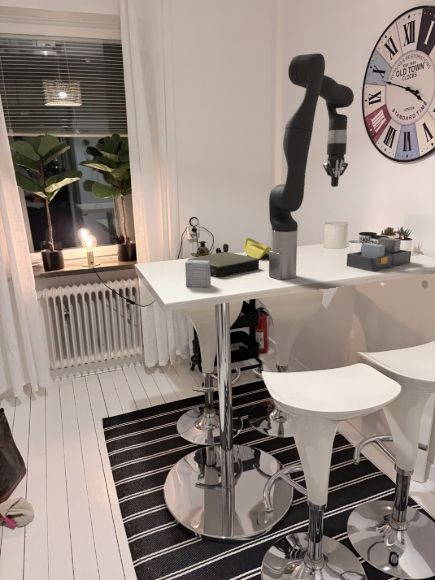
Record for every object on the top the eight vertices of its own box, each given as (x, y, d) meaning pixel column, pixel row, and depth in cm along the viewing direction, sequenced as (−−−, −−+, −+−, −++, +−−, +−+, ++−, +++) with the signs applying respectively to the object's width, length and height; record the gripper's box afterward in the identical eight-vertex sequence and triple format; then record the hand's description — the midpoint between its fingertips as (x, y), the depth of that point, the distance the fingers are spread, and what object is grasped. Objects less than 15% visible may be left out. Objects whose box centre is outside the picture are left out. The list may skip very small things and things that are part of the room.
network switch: (263, 269, 172) (263, 256, 171) (225, 280, 156) (225, 267, 154) (220, 261, 188) (220, 250, 186) (182, 271, 171) (181, 259, 170)
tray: (373, 271, 162) (375, 245, 160) (346, 265, 173) (348, 241, 170) (410, 263, 175) (413, 239, 172) (383, 258, 185) (385, 235, 182)
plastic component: (282, 252, 190) (265, 245, 185) (275, 267, 191) (258, 260, 186) (260, 243, 207) (244, 235, 202) (254, 257, 208) (237, 250, 203)
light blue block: (377, 266, 166) (379, 246, 163) (360, 263, 172) (362, 243, 170) (383, 265, 168) (384, 245, 165) (366, 262, 174) (367, 242, 172)
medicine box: (211, 284, 149) (210, 260, 147) (208, 288, 145) (207, 263, 142) (189, 283, 151) (188, 259, 148) (185, 287, 146) (184, 262, 144)
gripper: (332, 141, 165) (330, 187, 170) (355, 142, 172) (352, 186, 177) (318, 142, 171) (316, 187, 176) (340, 143, 178) (338, 185, 183)
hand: (334, 186), depth 176 cm, fingers closed
